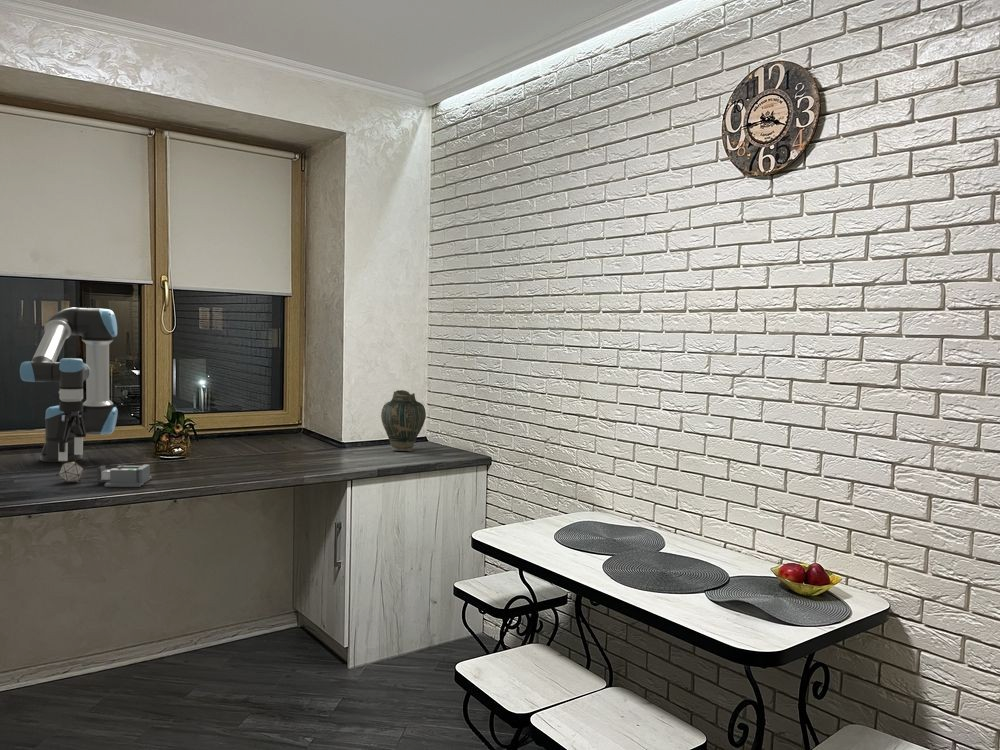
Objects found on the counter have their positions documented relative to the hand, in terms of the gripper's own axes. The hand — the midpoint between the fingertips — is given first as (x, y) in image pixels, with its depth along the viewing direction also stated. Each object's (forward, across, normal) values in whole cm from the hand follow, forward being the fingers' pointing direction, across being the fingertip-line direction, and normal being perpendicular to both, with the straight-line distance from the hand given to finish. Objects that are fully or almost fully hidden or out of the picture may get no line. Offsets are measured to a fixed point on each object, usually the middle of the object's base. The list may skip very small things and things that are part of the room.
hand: (70, 457), depth 266 cm
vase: (+9, -76, +124) cm, 146 cm away
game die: (+10, 0, 0) cm, 10 cm away
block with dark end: (+8, +1, +14) cm, 16 cm away
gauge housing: (+9, 0, +20) cm, 22 cm away
